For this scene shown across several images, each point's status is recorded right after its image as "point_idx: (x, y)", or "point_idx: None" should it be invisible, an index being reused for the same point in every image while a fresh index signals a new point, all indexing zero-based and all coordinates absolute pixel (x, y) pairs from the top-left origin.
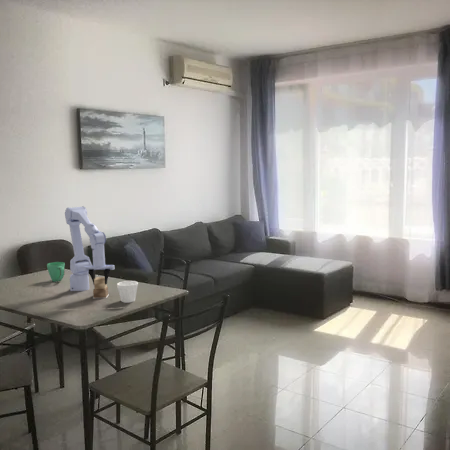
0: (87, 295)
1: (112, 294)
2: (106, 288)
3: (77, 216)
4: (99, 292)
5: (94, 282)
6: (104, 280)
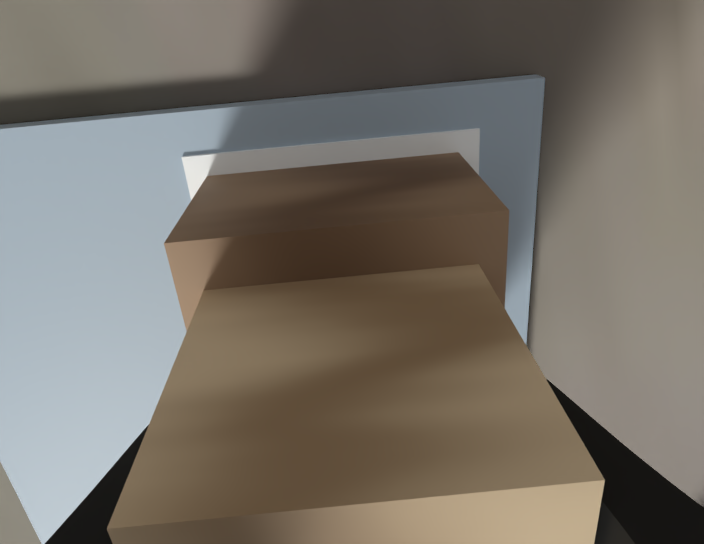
0: (606, 387)
1: None
2: None
3: None
4: (335, 203)
5: (541, 387)
6: (131, 490)
